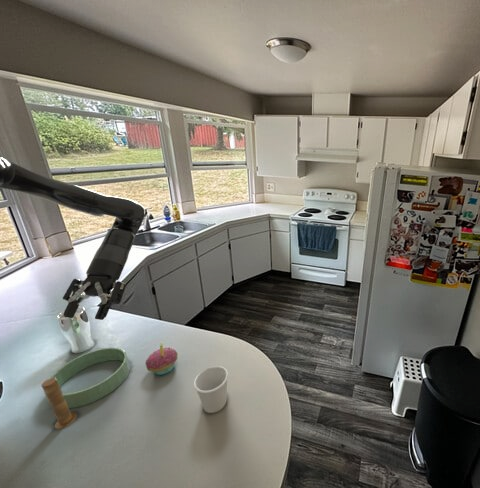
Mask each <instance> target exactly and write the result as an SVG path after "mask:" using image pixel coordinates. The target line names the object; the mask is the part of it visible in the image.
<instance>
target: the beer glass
mask: <svg viewBox="0 0 480 488" xmlns="http://www.w3.org/2000/svg"><path fill="white" fill-rule="evenodd" d="M64 311H65V310H63V311H61V312H59V314H57V316H56V319H57V323H58V326H59V329H60V331H61V334H62V335H63V336H64V338H65V339H66V340H67V342H68V343H69V345H70V348H71V353H72V354H81V353H84V352H86V351H89V350H90V349H92V348H93V347H94V346H95V341H94V340H93V338H92V335H91V322H90V319H89V316H88V313H87V311H86V310H85V308H84V307H82V306H79V307H78V309H77V311H76V313H75V315H74V317H73V318H67V317H64Z"/></svg>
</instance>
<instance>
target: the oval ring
mask: <svg viewBox="0 0 480 488" xmlns="http://www.w3.org/2000/svg"><path fill="white" fill-rule="evenodd" d="M107 361H122V363H121V365H120V366H119V367H118V368H117V369H116V371H115V372H114V373H112V374H111V375H109V376H108V377H106V378H105V379H103V380H102V381H100V382H98V383H96V384H94V385H91V386H90V387H87V388H85V389H82V390H78V391H73V392H67V393H64V392H62V394H63V396H64V398H65V401H66V403H67V405H68V408H69V409H73V408H79V407H82V406H85V405H88V404H92V403H94V402H95V401H98V400H100V399H102V398H104V397H105V396H107V395H109V394H110V393H112V392H113V391H114V390H116V389H117V388H119V386H120V385H121V384H123V382H124V381H125V380H126V379H127V377H128V375H129V374H130V370H131V365H130V361H129V359H128V355H127V351H125V350H124V349H122V348H119V347H103V348H99V349H94V350H91V351H89V352H86V353H84V354H81V355H79V356H76V357H75V358H74V359H71V360H70V361H68V362H67V363H65V364H64V365H62V366H61V367H59V368H58V369H57V370H56V371H55V373H53V375H51V377H49V379H51V378H56V380H57V382H58V385H59V387H60V388H62V386H63V385H64V383H65V382H67V381H68V380H69V379H70V378H71V377H73V376H74V375H76V374H78V373H79V372H80V371H82V370H84V369H87V368H88V367H91V366H93V365H96V364H99V363H102V362H107Z"/></svg>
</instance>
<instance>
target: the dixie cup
mask: <svg viewBox="0 0 480 488" xmlns="http://www.w3.org/2000/svg"><path fill="white" fill-rule="evenodd" d="M228 379H229V372H228V370H227V368H225V367H224V366H219V365H214V366H210V367H207V368H205V369H204V370H202V371H201V372H199V374H198V375H197V376H196V377H195V378H194V382H193V387H194V390H195V391H196V393H197V395H198V397H199V400H200V403H201V405H202V408H203V410H204V412H206V413H208V414H215V413H218V412H219V411H220V410H222V409H223V408H224V407H225V405H226V403H227V397H228V396H227V395H228V394H227V393H228Z"/></svg>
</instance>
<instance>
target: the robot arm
mask: <svg viewBox="0 0 480 488" xmlns="http://www.w3.org/2000/svg"><path fill="white" fill-rule="evenodd" d="M0 189H3V190H8V191H9V190H10V191H15V192H19V193H24V194H26V195H27V194H28V195H31V196H34V197H38V198H41V199H43V200H45V201H49V202H51V203H54V204H56V205H59V206H60V207H61V206H62V207H64V208H66V209H70V210H74V211H77V212H81V213H83V214H87V215H91V216H95V217H103V216H109V217H113V218H114V221H113V223H112V225H111V227H110V229H109V230H107V232H106V234H105V236H104V238H103V240H102V242H101V244H100V245H99V247H98V249H97V250H96V252H95V254H94V255H93V257H92V260H91V262H90V264H89V266H88V267H87V270H86V272H85V274H86V278H84V280H82V279H81V280H80V279H78V278H73V279H72V281H71V282H70V284H69V286H68V287H67V289H66V291H65V293H64V295H63V296H62V300H65V301H66V302H68V303H67V305H66V307H65V309H64V310H63V311H64V317H67V318H73V317H74V315H75V313H76V311H77V309H78V307H80V304H81V303H82V302H83V301H85V300H86V299H89V298H90V297H93V298H94V297H97V298H99V299H100V301H101V304H100V305H99V307H98V309H97V311H96V314H95V315H94V319H95V320H99V321H103V320H105V318H106V317H107V315H108V313H109V311H110V309H111V307H112V306H113V305H119V304H121V301H122V299H123V296H124V293H125V291H126V288H127V284H126V283H125V282H124V281H123V282H122V281H120V280H119V279H120V277H121V275H122V273H123V271H124V268H125V266H126V264H127V261H128V259H129V254H130V252H131V249H132V247H133V245H134V242H135V239H136V236H137V234H138V232H139V230H140V228H141V226H142V224H143V222H144V219H145V216H146V209H145V207H144V206H143V205H142V204H140V203H138V202H137V201H134V200H133V199H129V198H125V197H124V198H123V197H118V196H112V195H107V194H106V195H105V194H102V193H100V192H97V191H94V190H91V189H88V188H85V187H83V186H80V185H75V184H72V183H68V182H65V181H62V180H59V179H55V178H52V177H49V176H46V175H43V174H40V173H37V172H35V171H32V170H30V169H28V168H25V167H23V166H21V165H20V164H17V163H15V162H12V161H10V160H9V159H6V158H4V157H3V156H1V155H0Z"/></svg>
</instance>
